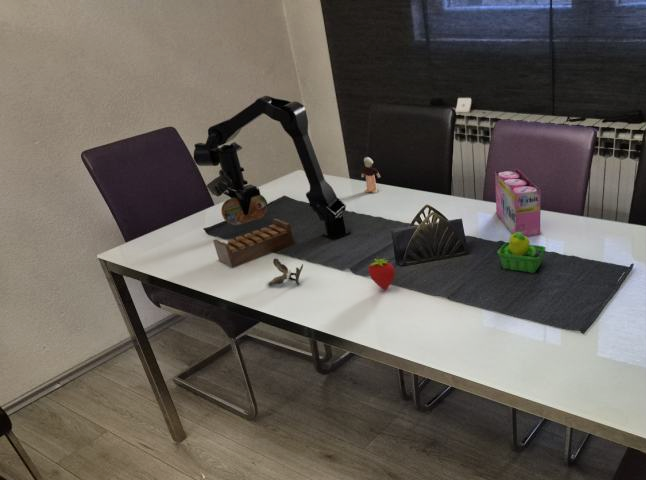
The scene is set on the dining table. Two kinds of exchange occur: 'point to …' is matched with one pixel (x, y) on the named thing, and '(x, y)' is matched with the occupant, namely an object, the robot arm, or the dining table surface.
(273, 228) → the rack
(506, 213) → the gum box
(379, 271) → the strawberry
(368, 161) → the grandmother figurine
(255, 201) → the tin
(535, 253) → the fruit basket
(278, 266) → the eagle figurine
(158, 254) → the dining table surface
